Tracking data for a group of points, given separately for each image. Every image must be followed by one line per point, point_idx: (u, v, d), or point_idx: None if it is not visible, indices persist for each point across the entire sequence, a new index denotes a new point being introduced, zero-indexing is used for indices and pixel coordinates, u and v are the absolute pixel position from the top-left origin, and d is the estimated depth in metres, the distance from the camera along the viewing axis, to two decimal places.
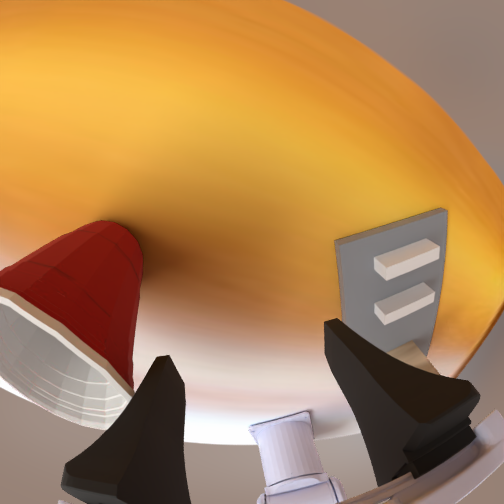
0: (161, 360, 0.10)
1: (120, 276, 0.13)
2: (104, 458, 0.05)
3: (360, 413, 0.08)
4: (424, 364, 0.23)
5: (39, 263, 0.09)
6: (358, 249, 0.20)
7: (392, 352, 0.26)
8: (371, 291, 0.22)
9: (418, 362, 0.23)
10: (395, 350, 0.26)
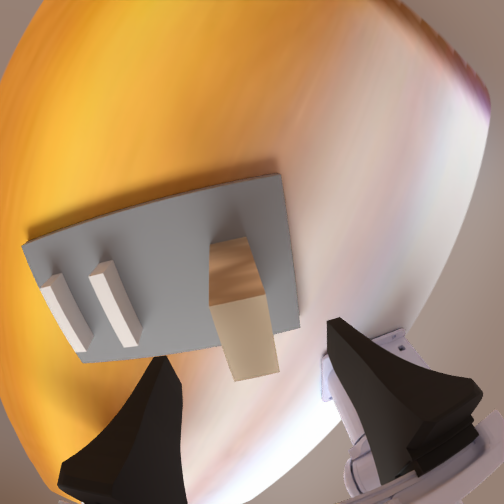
0: (158, 360, 0.10)
1: None
2: (100, 457, 0.05)
3: (363, 412, 0.08)
4: None
5: None
6: None
7: None
8: (116, 336, 0.19)
9: None
10: None
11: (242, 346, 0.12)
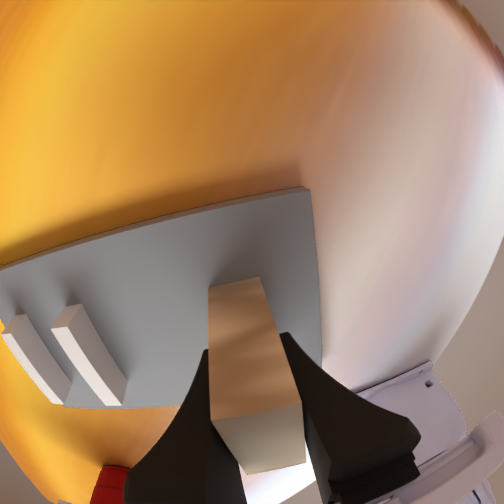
0: None
1: (99, 499, 0.16)
2: (175, 461, 0.05)
3: (305, 431, 0.08)
4: None
5: None
6: None
7: None
8: None
9: None
10: None
11: (260, 450, 0.07)
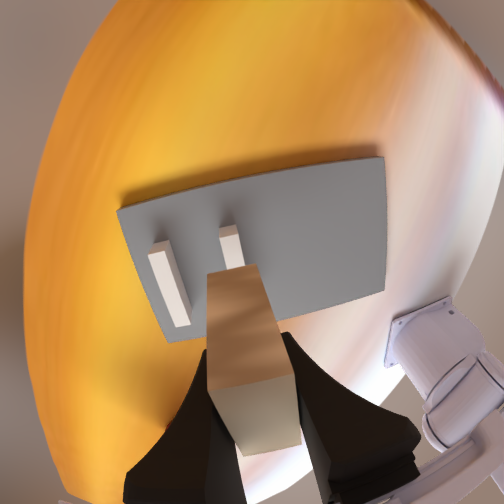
0: None
1: None
2: (175, 461, 0.05)
3: (304, 431, 0.08)
4: None
5: None
6: (170, 327, 0.22)
7: None
8: None
9: None
10: None
11: (256, 428, 0.08)
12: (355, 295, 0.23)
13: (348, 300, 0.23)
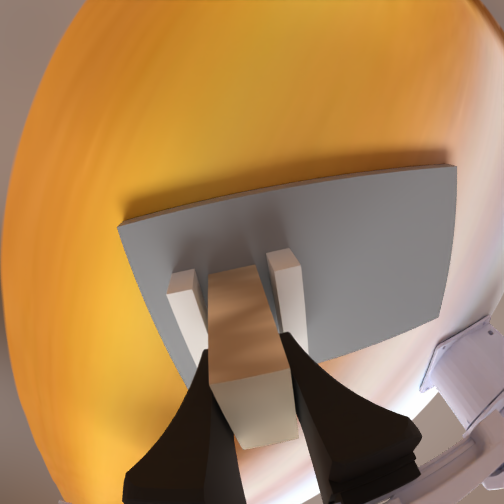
0: None
1: None
2: (174, 460, 0.05)
3: (305, 431, 0.08)
4: None
5: None
6: (192, 374, 0.16)
7: None
8: None
9: None
10: None
11: (254, 421, 0.08)
12: (411, 325, 0.18)
13: (403, 331, 0.18)
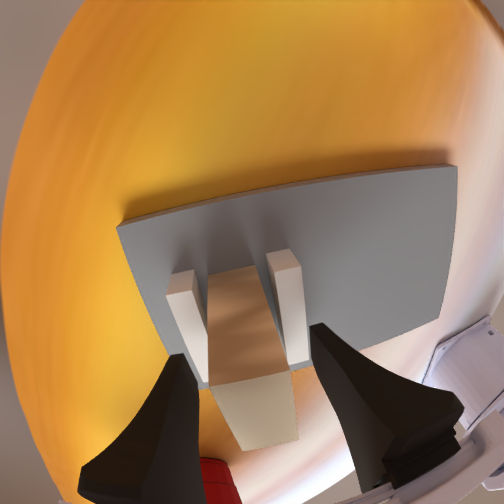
0: (175, 358, 0.10)
1: None
2: (124, 460, 0.05)
3: (344, 419, 0.08)
4: None
5: None
6: None
7: None
8: None
9: None
10: None
11: (254, 423, 0.08)
12: (411, 326, 0.18)
13: (403, 332, 0.18)
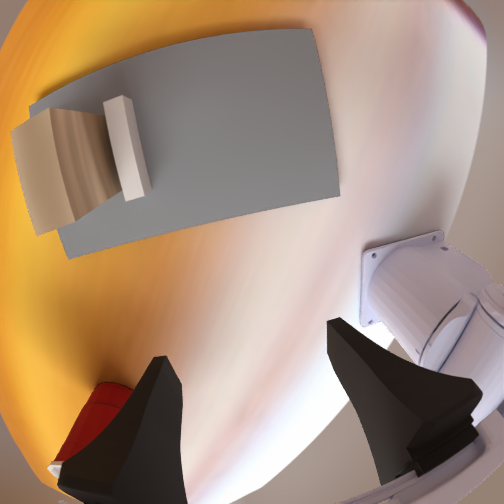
0: (158, 360, 0.10)
1: (84, 417, 0.18)
2: (101, 457, 0.05)
3: (363, 412, 0.08)
4: None
5: None
6: (69, 236, 0.16)
7: None
8: (116, 205, 0.16)
9: None
10: None
11: (34, 178, 0.08)
12: (297, 197, 0.18)
13: (287, 203, 0.18)
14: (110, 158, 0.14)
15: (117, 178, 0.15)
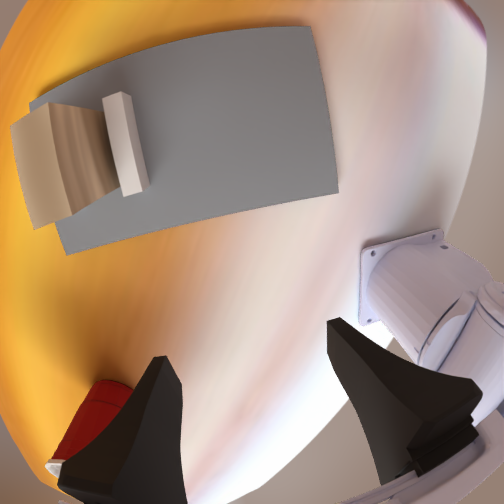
0: (158, 360, 0.10)
1: (82, 415, 0.18)
2: (101, 457, 0.05)
3: (363, 412, 0.08)
4: None
5: None
6: (67, 232, 0.16)
7: None
8: (114, 201, 0.16)
9: None
10: None
11: (32, 172, 0.08)
12: (295, 194, 0.17)
13: (285, 200, 0.18)
14: (109, 154, 0.14)
15: (115, 174, 0.15)
